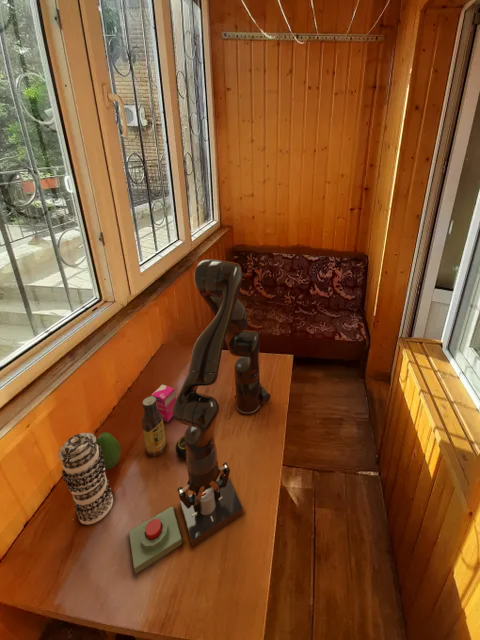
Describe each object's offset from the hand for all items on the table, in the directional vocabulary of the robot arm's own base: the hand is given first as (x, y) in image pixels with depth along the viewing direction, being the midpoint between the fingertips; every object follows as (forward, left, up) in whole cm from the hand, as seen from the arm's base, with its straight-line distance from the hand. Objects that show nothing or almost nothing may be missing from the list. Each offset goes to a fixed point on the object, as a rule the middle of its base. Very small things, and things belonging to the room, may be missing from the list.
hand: (207, 504), depth 85 cm
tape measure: (-1, -21, -4) cm, 21 cm away
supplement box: (+2, -40, -4) cm, 40 cm away
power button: (+14, -1, 0) cm, 14 cm away
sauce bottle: (+8, -28, -4) cm, 29 cm away
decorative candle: (+26, -18, -4) cm, 32 cm away
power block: (+14, -1, -4) cm, 14 cm away
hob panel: (-1, 0, -4) cm, 4 cm away
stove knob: (0, 0, -1) cm, 1 cm away
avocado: (+22, -30, -4) cm, 37 cm away
